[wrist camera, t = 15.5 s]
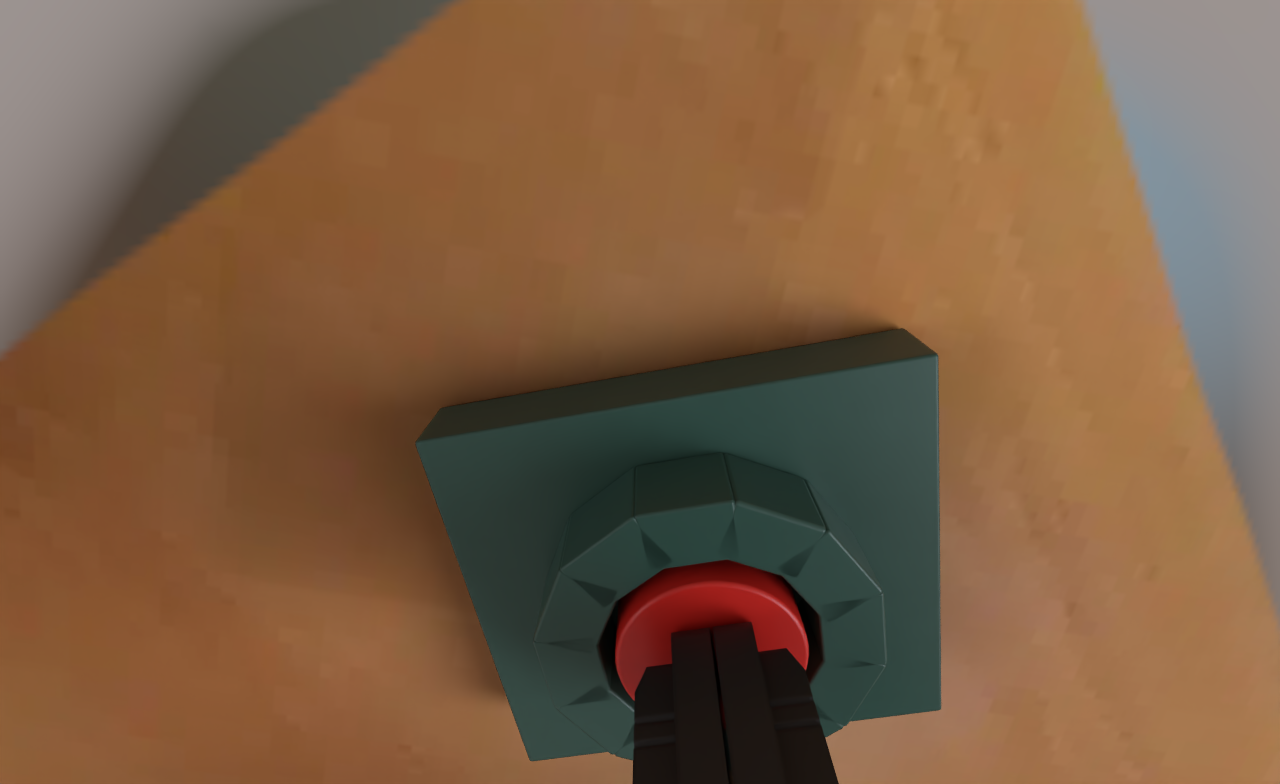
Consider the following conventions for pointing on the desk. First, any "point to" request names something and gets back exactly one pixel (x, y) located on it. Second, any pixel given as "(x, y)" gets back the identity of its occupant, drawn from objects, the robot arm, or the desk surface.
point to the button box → (702, 522)
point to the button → (704, 613)
